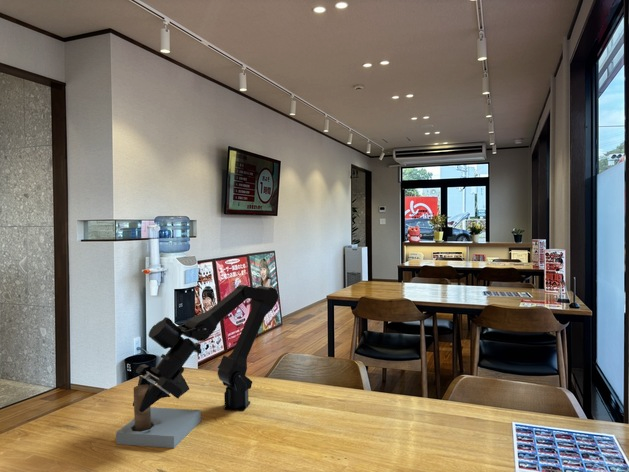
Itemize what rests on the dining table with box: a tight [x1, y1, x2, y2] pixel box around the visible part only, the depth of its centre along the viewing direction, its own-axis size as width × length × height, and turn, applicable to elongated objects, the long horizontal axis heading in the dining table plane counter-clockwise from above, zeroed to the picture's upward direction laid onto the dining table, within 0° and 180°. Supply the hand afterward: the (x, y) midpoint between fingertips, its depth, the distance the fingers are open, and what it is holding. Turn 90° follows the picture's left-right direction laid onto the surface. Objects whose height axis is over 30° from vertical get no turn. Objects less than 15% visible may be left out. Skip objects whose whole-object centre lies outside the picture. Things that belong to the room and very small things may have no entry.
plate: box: [115, 406, 202, 449], centre depth 119 cm, size 16×16×3 cm
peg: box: [133, 384, 151, 432], centre depth 116 cm, size 4×4×12 cm
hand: (137, 409), depth 115 cm, fingers closed on peg, 4 cm apart
